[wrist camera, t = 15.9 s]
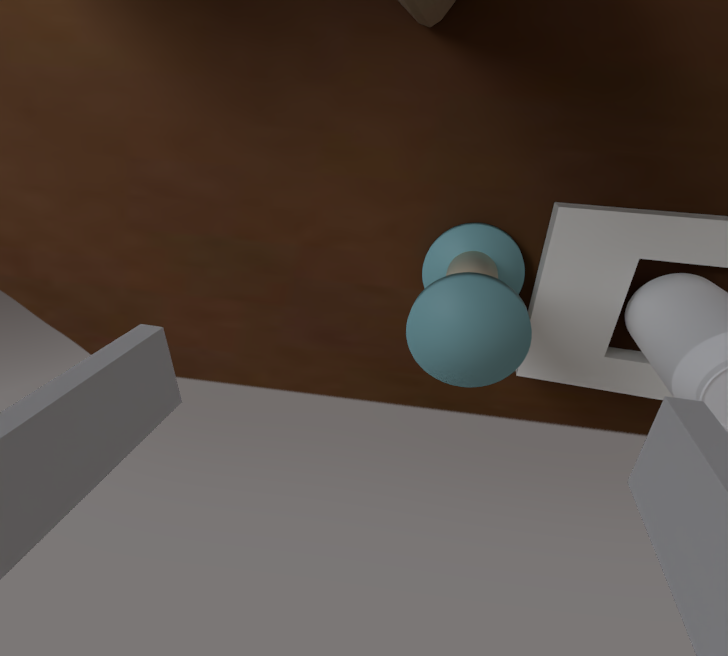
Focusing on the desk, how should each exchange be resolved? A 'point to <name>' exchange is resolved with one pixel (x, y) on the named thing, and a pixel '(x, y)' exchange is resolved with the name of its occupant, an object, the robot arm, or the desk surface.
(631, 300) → the beverage can
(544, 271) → the u-shaped block
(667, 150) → the desk surface
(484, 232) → the bobbin
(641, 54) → the desk surface
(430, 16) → the wooden block
